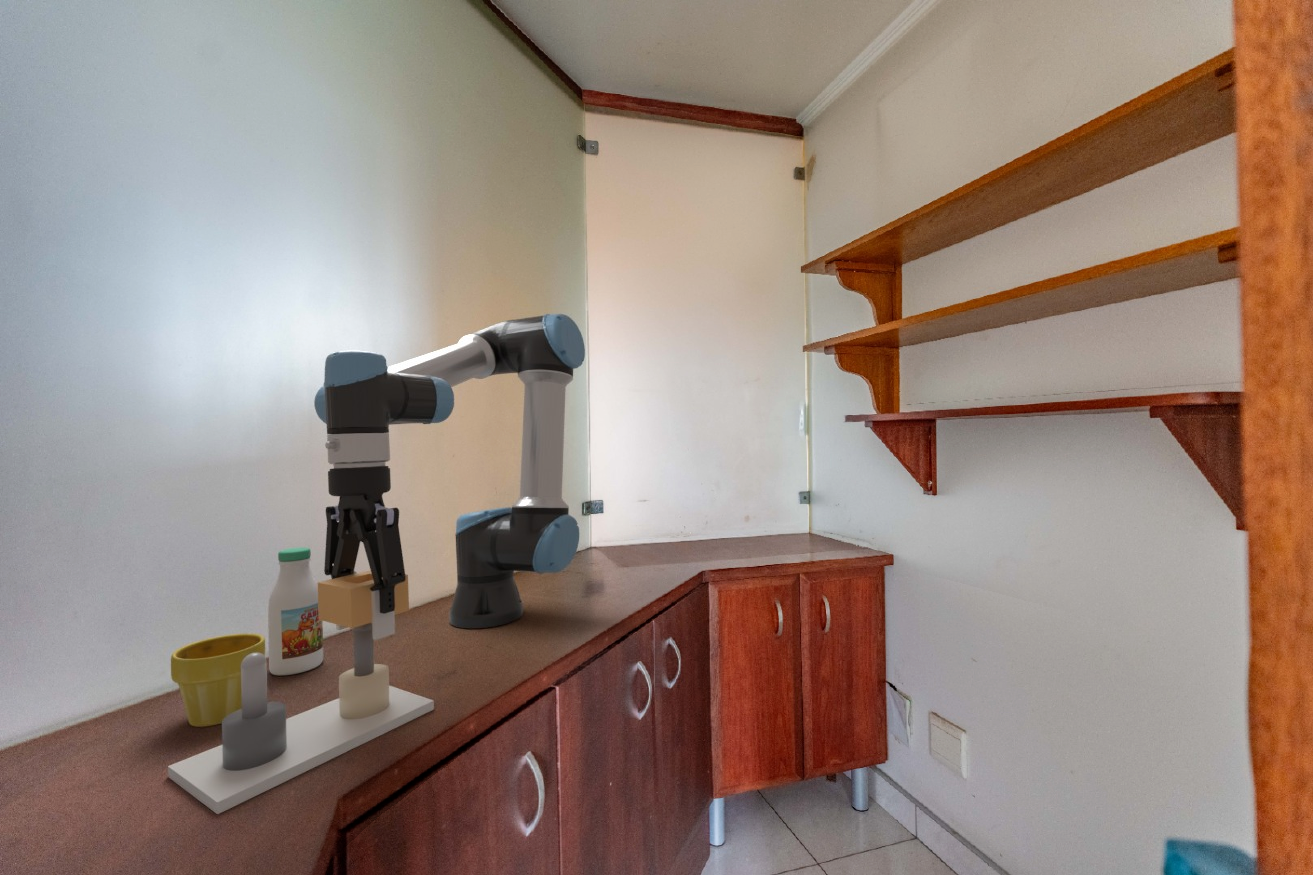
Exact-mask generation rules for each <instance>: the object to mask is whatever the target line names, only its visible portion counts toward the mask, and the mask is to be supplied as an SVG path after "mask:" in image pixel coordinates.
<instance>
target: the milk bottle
mask: <svg viewBox="0 0 1313 875" xmlns="http://www.w3.org/2000/svg"><path fill="white" fill-rule="evenodd" d="M311 555H312V554H311V548H310V547H295V548H294V547H293V548H286V549H283V550H280V551H279V552H278V556H277V558H278V565H279V566H280V567H279V572H278V575H277V579H276V581H275V583H274V586H273V587H272V590H271V593H270V595H269V598H268V609H267V610H268V612H267V614H268V616H267V617H268V620H267V622H268V624H267V625H268V627H267V630H268V636H267V638H268V666H269V667H268V668H269V670H268V671H269V672H270V674H271V675H274V676H289V675H296V674H297V675H298V674H300V673H305V672H307V671H310V670H313V669H316V668H317V667H319V666H320V665H321V664H322V662H323V660H324V630H323V629H324V628H323V627H324V625H323V624H324V623H323V622H324V621H322V620H319V613H318V584H317V580H316V578H315V577H314V575H313V573H312V570H311V567H310V561H312V560H311Z"/></svg>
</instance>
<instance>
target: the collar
mask: <svg viewBox="0 0 1313 875" xmlns="http://www.w3.org/2000/svg"><path fill="white" fill-rule="evenodd" d="M405 577H406V579H405V581H404V582H401V583H399V584H397V585H395V588H394V593H395V610H394V613H395V616H396V615H399V614H402V613H406V612H410V600H409V598H410V597H409V594H410V593H409V574H406V573H405ZM382 579H383V578H382ZM316 582H317V581H316ZM317 584H318V613H319V620H322V621H323V622H326V623H331V624H334V625H336V624H337V625H341V626H345V627H348V628H349V629H353V628H355V627H358V626H361V625H365V624H368V623H371V622H372V604H371V590H370V588H371V587H373V586H374V585H375V584H374V580H373V577H372V573H371V569H369V570H366V571H362V572H356V574H352V575H348V576H343V577H339V578H335V579H332V578H330V579H326V580H322V581H318V582H317ZM348 628H347V629H348Z"/></svg>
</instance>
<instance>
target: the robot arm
mask: <svg viewBox="0 0 1313 875" xmlns="http://www.w3.org/2000/svg"><path fill="white" fill-rule="evenodd" d="M585 356H586V347H585V342H584V339H583V334H582V332H581V331H580V328H579V326H578V325H577V323H576V322H575V321H574V320H573V318H571V317H570V316H568V315H567V314H563V313H556V314H555V313H554V314H550V313H546V314H544V315H538V316H531V317H523V318H517V319H509V320H504V321H501V322H497V323H495V324H493V325H489V326H487V327H485V328H483V329H480V330H477V331H475V332H472V333H470V334H467V335H464V336H462V337H461V338H460V339H459V340H458V342H457V343H455V344H452V345H449V346H447V347H444V348H440V349H438V350H434V351H433V352H429V353H426V354H424V355H420V356H418V357H414V358H411V359H407V360H405V361H403V362H400V363H396V364H393V365H390V366H388V365H387V359H386V358H385V356H384V355H382V354H380V353H377V352H374V351H373V352H372V351H365V350H341V351H334V352H332V353H329V354H328V355H327V357H326V358H325V362H324V363H325V364H324V382H323V385H322V386H321V387H320V388H319V389H318V390H317V392H316V394H315V397H314V400H313V402H314V409H315V413H316V415H317V417H318V418H319V419H320V420H321V421H322V422H323V423H324V424H326V434H327V436H326V437H327V438H326V439H327V441H326V442H325V444H324V445H325V448H326V449H327V462H328V463H329V465H333V468H330V469H329V470H328V471H327V481H328V482H327V483H328V494H329V495H330V496H331V497H339V499H338V503H337V505H332V506H331V505H330V506H326V507H325V515H326V516H325V517H326V537H325V552H324V569H323V571H324V575H325V576H330V579H335V578H339V577H343V576H348V575H352V574H356V573H357V571H355V567H356V562H357V558H358V554H359V549H360V545H361V543H362V544H363V547H364V551H365V554H366V558H367V562H368V565H369V570H371V573H372V577H373V580H374V584H375V585H374V586H373V587H371V588H370V590H371V604H372V635H373V641H378V640H380V639H384V638H387V637H390V636H392V635H395V634H396V623H395V622H396V620H395V619H396V618H395V616H396V615H395V613H394V610H395V593H394V588H395V585H397V584H399V583H401V582H404V581H405V579H406V577H405V574H406V571H405V564H404V563H405V562H404V556H403V550H402V549H403V548H402V542H401V533H400V527H399V519H400V509H399V508H398V507H392V508H388V507H386V505H385V503H384V499H383V496H384V495H383V494H386V493H388V492H389V491H390V490H391V487H392V486H391V485H392V484H391V468H390V467H389V466H388V465H386V463H387V462H389V461H390V460H391V454H390V453H391V450H390V449H391V447H390V429H389V428H390V425H407V424H408V425H409V424H422V425H430V424H440V423H442V422H444V421H445V420H447V419H448V418H449V417H450V416H451V414H452V413H453V410H454V408H455V393H454V391H453V387H455V386H458V385H460V384H463V383H464V382H467V381H469V380H471V379H477V380H482V379H487V378H488V377H491V376H495V375H503V374H504V375H506V374H517V378H519V379H520V381H521V382H522V383H523V384H524V391H523V392H524V393H523V394H524V396H523V415H522V437H521V438H522V439H521V440H522V441H521V461H520V463H521V465H520V480H519V481H520V484H519V485H520V487H519V497H518V499H517V500H516V501H515V502H514V503H513V504H512V505H511V507H510V506H503V507H499V508H497V507H496V508H491V509H485V510H478V511H473V512H468V513H466V512H465V513H462V514H461V515H459V516H458V518H457V520H456V525H455V529H456V530H455V533H454V536H455V552H456V553H455V554H456V574H457V575H456V578H457V582H456V588H455V592H454V595H453V599H452V603H451V607H450V609H449V613H448V615H449V616H448V617H449V619H448V620H449V624H450V625H451V626H453V627H457V628H460V629H461V628H462V629H481V628H482V629H484V628H491V627H493V628H494V627H498V626H501V625H506V624H510V623H512V622H514V621H516V620H519V619H520V618H522V617H523V615H524V603H523V600H522V599H521V596H520V592H519V588H518V587H517V584H516V580H515V575H514V574H515V572H527V573H537V574H539V575H542V574H557V573H559V572H562V571H564V570H565V569H566V568H567V567H568V566H570V564H571V563H572V561H573V559H574V558H575V556H576V553H577V550H578V548H579V542H580V527H579V526H578V524H579V523H578V522H577V520H576V518H575V517H574V516H572V515H570V513H569V511H570V508H569V505H568V504H567V502H565V500H563V475H564V474H563V472H564V469H563V468H564V446H565V445H564V443H565V442H564V441H565V440H564V439H565V417H566V416H565V413H566V411H565V409H566V391H567V390H566V388H567V386H568V385H569V384H570V383H571V382H573V380H574V369H578V368H579V367H581V366H582V365H583V362H584V361H585ZM382 578H383V579H382ZM335 626H336V630H338V631H340V630H344V629H348V627H345V626H341V625H337V624H335Z"/></svg>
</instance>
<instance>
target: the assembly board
mask: <svg viewBox="0 0 1313 875" xmlns="http://www.w3.org/2000/svg"><path fill="white" fill-rule="evenodd" d="M352 632H353V633H352V634H353V635H352V637H353V639H352V640H353V668H349V669H347V670H345V671H344V672H343V673H341V674H339V676H338V695H339V696H338V698H336V699H332V700H331V701H328V702H325V703H322V704H321V705H318V706H316V707H313V708H310V709H309V710H305V711H302V712H300V713H298V714H296V715H292V716H291V717H288V718H287V706H286V704H285V703H283V702H281V701H280V702H279V701H268V677H267V676H268V672H267V671H268V670H267V668H268V667H267V666H268V665H267V661H268V660H267V658H266V655H265V656H264V655H263V654H261V653H251V654H249V655H247V656H246V657H245V658H244V659H243V661H242V663H241V697H242V709H239V710H237V711H235V712H233V713H231V714H229V715H228V716H226V717H225V718H224V719H223V720H222V723H221V740H222V741H221V744H220V745H218V746H215V747H213V748H210V749H207V750H205V751H203V752H199V753H197V754H195V755H192V756H191V757H187V758H185V759H182V760H180V761H177V762H175V763H172V764H170V765H168V766H167V778H168V779H170V780H172V782H174V783H175V784H177V785H178V786H179V787H180V788H182V789H183V790H184V791H186V792H187V793H189V794H190V795H191V796H192V797H194V798H195V799H197V801H199V802H201V804H203V805H205V806H206V807H207V808H208V809H209V810H211V811H212V812H214V813H215V814H217V815H220V814H221V813H223V812H225V811H228V810H230V809H231V808H234V807H235V806H239V805H240V804H242V803H244V802H246V801H249V800H250V799H252V798H254V797H256V796H258V795H261V794H262V793H265V792H267V791H269V790H270V789H273V788H275V787H277V786H279V785H281V784H283V783H285V782H287V781H290V780H291V779H294V778H296V777H298V776H299V775H302V774H304V773H306V772H307V771H310V770H312V769H314V768H315V767H316V768H317V767H319V766H320V765H322V764H325V763H326V762H328V761H330V760H332V759H335V758H336V757H339V756H341V755H342V754H345V753H347V752H348V751H351V750H352V749H355V748H357V747H359V746H362V745H363V744H366V743H368V742H369V741H372V740H374V739H376V738H379V736H382V735H384V734H386V733H388V732H390V731H392V730H395V729H396V728H398V727H401V726H403V725H404V724H407V723H408V722H411V721H413V720H415V719H417V718H419V717H421V716H423V715H425V714H427V713H430V712H431V711H433V710H435V709H434V708H435V701H434V700H433V699H431V698H427V697H424V696H421V695H419V694H415V693H412V692H409V691H406V690H403V689H401V688H397V687H396V686H393V685H390V671H389V669H390V668H389V666H388V665H386V664H382V663H375V657H374V656H375V655H374V654H375V651H374V649H375V648H374V646H375V645H374V639H373V635H372V622H371V623H368V624H365V625H361V626H358V627H355V628H352Z"/></svg>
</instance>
